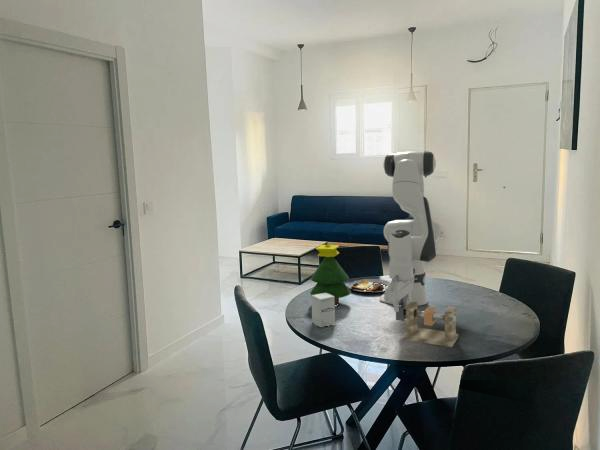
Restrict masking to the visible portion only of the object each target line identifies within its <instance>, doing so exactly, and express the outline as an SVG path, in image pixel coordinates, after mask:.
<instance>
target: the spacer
mask: <svg viewBox="0 0 600 450" xmlns="http://www.w3.org/2000/svg"><path fill="white" fill-rule="evenodd" d="M423 311H424V318H423V325H424V326H430V327H433V325H434V324H435V323H436V322H437V320H435V319H433V314H434V313H437V307H432V306H427V307H426V308H425V309H424V310H423Z"/></svg>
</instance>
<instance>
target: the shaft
mask: <svg viewBox="0 0 600 450" xmlns="http://www.w3.org/2000/svg"><path fill="white" fill-rule="evenodd" d="M399 306H400V311H399V312H395V321H401V322H404V321H405V320H406V306H407V295H406V296H405V297H404V298H402V299H401V300H400V301H399ZM414 316H415V317H418V318H422V319H424V310H418V311H417V310H414ZM433 319H435V320H436V321H444V322H445V313H439V312H436V313H434V314H433ZM453 322H456V323H457V315H456V316H453Z"/></svg>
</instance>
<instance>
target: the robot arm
mask: <svg viewBox="0 0 600 450" xmlns="http://www.w3.org/2000/svg"><path fill="white" fill-rule="evenodd" d="M383 160H384V161H383V164H382V165H383V169H384V172H385V174H386V175H387V176H388V177H392V186H391V188H392V191H391V192H392V193H391V194H392V198H393V200H394V202H396V203H397V205H399V208H400V209H401V210H402V212H403V211H404V212H406V213H407V214H410V215H411V216H412V217H413V219H394V220H391V221H387V223H386V224H385V225H384V227H383V237H384V239H385V240H386V242H387V254H388V256H389V263H388V275H389V276H388V277H389V279H391V280H390V283H389V285H388V286H387V287H386V286H385V288H384V289H385V292H383V294H381V295H380V297H379V302H380V301H381V302H380V303H386V304H390V305H392V306H393V311H394V312H395V313H396V312H399V311H400V306H399V301H400V300H401V299H402V298H404V297H405V296H406V295H407V305H408V304H409V303H410V302H418V306H419V307H420V306H423V305H426V304H428V303H429V299H428V296H427V291H426V290H427V289H426V282H427V281H426V280H427V279H426V277H427V276H426V272H425V263H427V262H428V263H430V262H431V261H433V260H434V259H435V258H436V257H437V255H438V244H437V242H438V240H439V239H440V238H441V234H442V229H441V226H440V225H441V224H439V223H438V221H436V220H434V218H432V215H431V209H430V206H429V205H430V204H429V200H428V198H427V197H425V182H424V178H428V176H431V175H432V174H434V172H435V169H436V165H437V160H436V158H435V155H434V153H433V152H431V151H427V150H424V151H421V150H420V151H419V150H416V151H415V150H410V151H402V152H397V153H395V152H392V153H388V154H387V155H386V156H384V159H383Z"/></svg>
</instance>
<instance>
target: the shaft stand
mask: <svg viewBox="0 0 600 450" xmlns="http://www.w3.org/2000/svg"><path fill="white" fill-rule="evenodd" d="M414 310H417V311H419V310H418V302H410V303H409V304H408V305H407V306H406V319H405V320H406V321H405V322H406V323H405V324H406V327H405V328H406V332H405V333H404V334H403V340H406V339H408V341H413V342H417V343H425V344H430V345H435V346H436V345H437V346H441V347H442V346H443V347H448V348H453V346H454V345H455V343H456V342H457V340H458V339H459V333H457V321H456V322H453V316H456V317H457V307H455V306H448V307H447V308H446V310H445V311H444V314H445V321H444V330H436V329H431V328H423V327H419V326H418V325H419V323H418V321H419V320H418V319H419V317H415V316H414Z"/></svg>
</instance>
